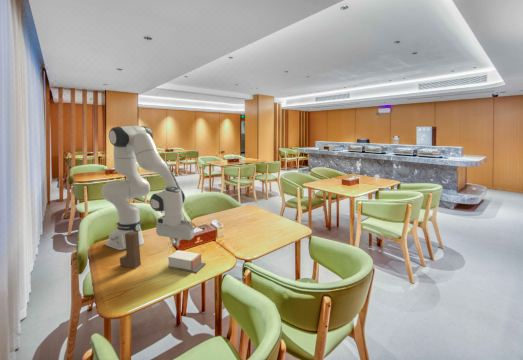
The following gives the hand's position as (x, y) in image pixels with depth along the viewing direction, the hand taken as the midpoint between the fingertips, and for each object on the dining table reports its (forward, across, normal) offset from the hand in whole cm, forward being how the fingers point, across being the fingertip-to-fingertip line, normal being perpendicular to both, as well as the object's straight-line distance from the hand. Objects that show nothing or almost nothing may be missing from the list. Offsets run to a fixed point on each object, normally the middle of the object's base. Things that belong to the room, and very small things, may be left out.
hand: (175, 245), depth 140 cm
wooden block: (+10, +21, +9) cm, 25 cm away
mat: (+10, -7, 0) cm, 12 cm away
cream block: (+7, +2, 0) cm, 8 cm away
